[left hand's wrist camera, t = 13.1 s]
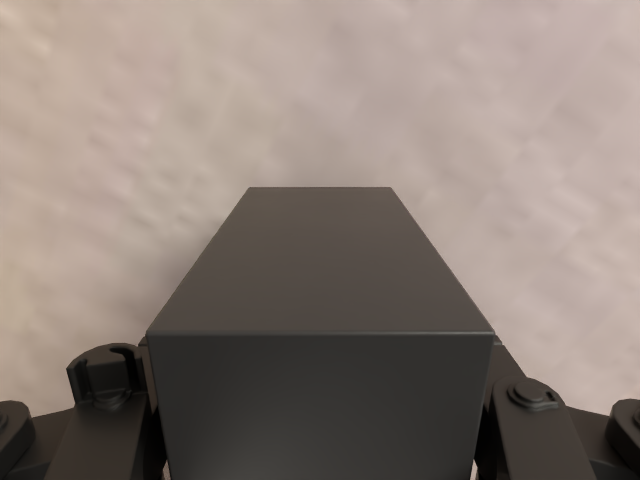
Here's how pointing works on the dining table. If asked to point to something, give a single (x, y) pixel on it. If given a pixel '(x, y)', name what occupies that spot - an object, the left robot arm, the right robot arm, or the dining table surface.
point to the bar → (320, 346)
